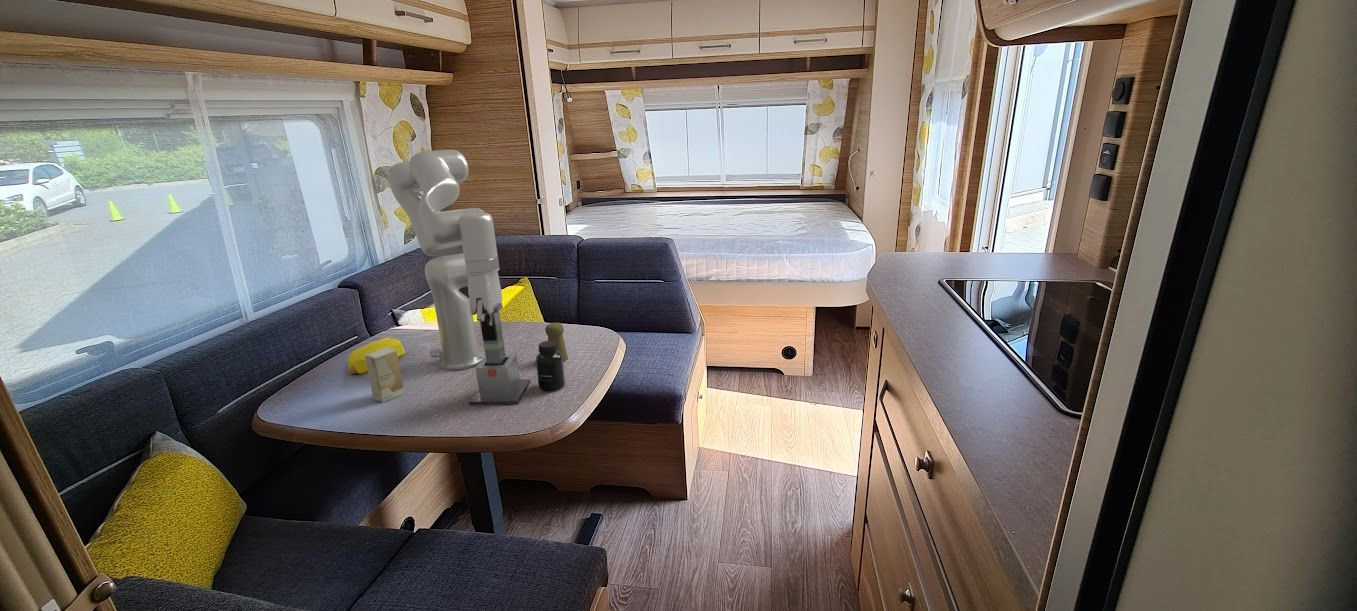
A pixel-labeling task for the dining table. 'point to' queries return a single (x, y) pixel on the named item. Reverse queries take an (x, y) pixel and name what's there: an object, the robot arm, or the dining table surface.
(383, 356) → the skincare box
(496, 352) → the column
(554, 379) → the supplement bottle
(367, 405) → the dining table surface
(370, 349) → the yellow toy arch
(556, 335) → the olive knobbed figure
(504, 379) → the stand base
